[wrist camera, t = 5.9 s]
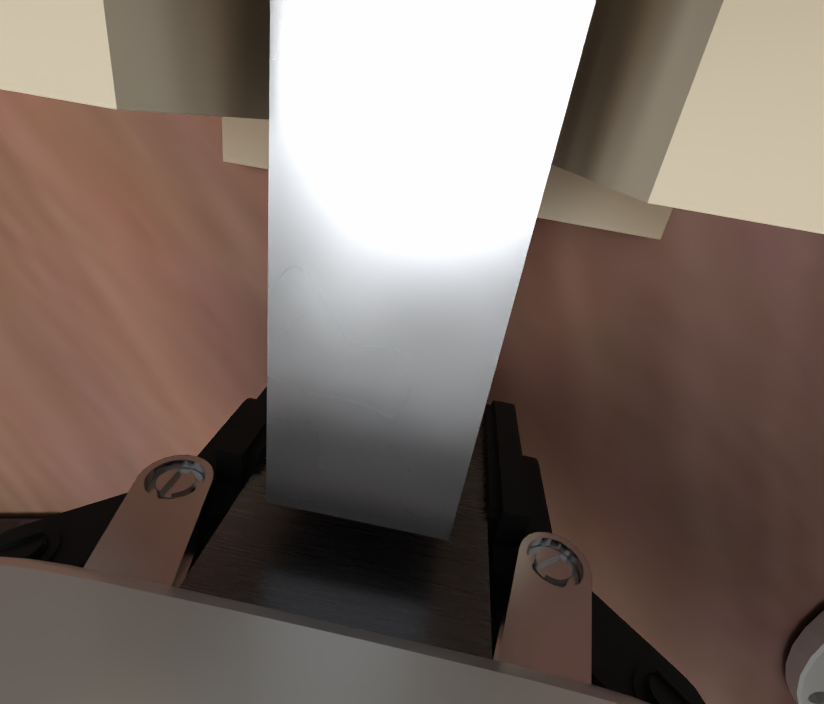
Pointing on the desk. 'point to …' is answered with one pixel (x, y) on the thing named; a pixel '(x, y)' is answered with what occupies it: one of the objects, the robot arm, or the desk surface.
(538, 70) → the shaft
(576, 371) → the desk surface
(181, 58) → the wooden post stand
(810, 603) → the desk surface
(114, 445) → the desk surface
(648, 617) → the desk surface
